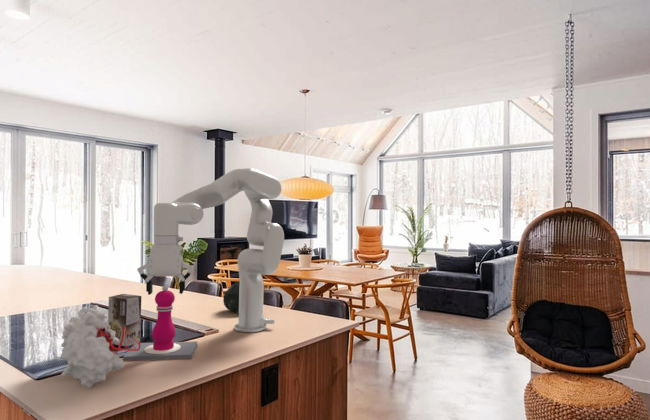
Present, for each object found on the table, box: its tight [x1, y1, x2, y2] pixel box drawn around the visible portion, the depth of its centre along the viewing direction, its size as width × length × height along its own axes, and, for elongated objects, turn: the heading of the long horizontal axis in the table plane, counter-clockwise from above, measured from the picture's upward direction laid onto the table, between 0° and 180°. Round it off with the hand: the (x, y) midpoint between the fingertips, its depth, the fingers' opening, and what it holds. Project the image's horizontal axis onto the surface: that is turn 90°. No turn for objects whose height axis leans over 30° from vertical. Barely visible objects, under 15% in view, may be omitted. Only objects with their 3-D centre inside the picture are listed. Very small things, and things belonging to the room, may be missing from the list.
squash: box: [223, 281, 240, 314], centre depth 198 cm, size 14×15×15 cm
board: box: [122, 340, 198, 362], centre depth 137 cm, size 20×14×1 cm
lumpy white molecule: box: [60, 304, 142, 389], centre depth 117 cm, size 20×18×25 cm
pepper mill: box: [151, 285, 176, 351], centre depth 137 cm, size 7×7×20 cm
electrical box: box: [107, 293, 142, 348], centre depth 146 cm, size 9×6×16 cm
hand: (165, 293), depth 138 cm, fingers open, 9 cm apart
